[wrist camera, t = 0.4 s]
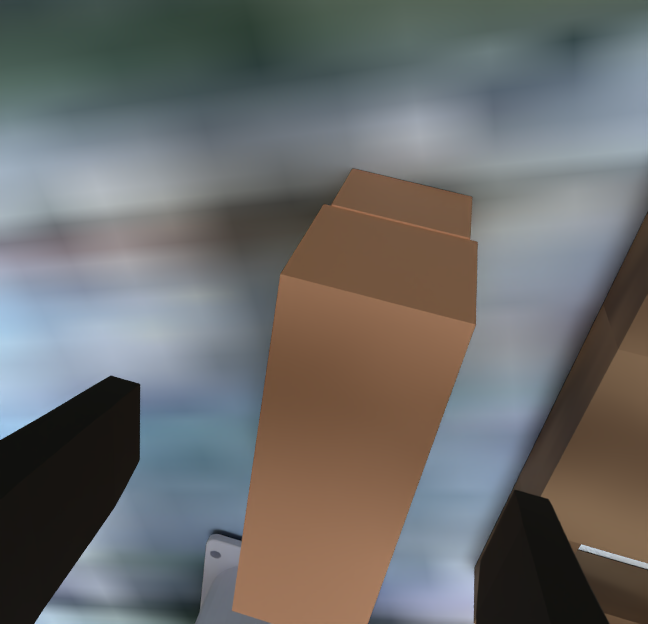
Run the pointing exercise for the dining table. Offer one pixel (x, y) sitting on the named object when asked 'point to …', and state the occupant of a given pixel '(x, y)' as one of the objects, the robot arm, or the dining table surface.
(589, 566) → the brown flat slab
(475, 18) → the dining table surface
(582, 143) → the dining table surface
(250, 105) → the dining table surface
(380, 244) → the tan stepped block
